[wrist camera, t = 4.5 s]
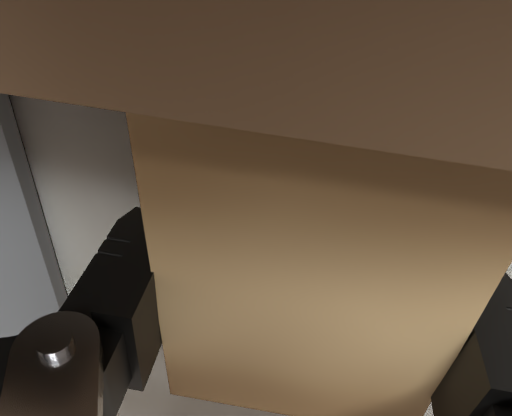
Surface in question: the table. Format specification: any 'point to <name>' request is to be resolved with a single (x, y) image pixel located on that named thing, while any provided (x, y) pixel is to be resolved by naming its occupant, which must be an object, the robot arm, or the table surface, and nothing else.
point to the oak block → (314, 266)
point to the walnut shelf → (281, 67)
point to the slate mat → (23, 238)
